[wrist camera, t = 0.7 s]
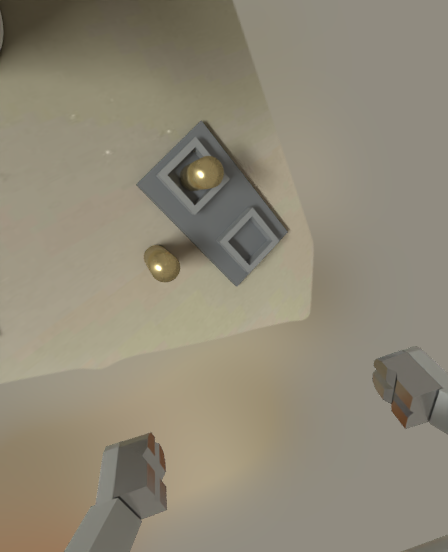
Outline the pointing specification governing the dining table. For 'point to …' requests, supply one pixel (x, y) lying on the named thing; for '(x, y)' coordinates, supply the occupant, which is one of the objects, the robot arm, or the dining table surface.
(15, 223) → the dining table surface
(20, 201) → the dining table surface
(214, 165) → the seated billet
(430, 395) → the robot arm
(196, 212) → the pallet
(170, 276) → the loose billet
